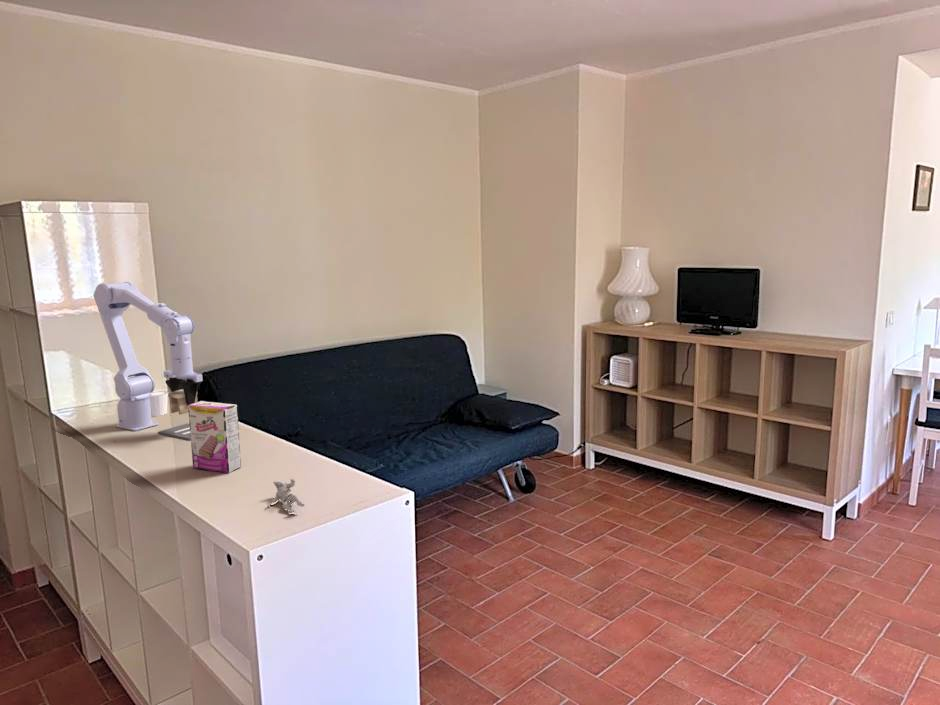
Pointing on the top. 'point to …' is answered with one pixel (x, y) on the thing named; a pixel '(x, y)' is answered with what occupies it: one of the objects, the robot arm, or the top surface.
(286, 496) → the grey creature figurine
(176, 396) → the two-pronged tan block
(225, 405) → the candy bar box
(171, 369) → the robot arm
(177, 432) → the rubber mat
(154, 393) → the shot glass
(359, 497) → the top surface
